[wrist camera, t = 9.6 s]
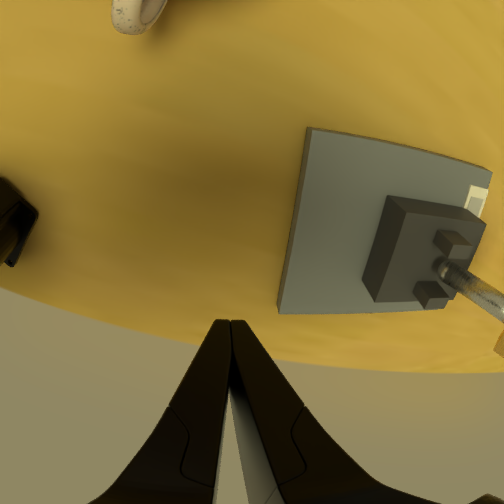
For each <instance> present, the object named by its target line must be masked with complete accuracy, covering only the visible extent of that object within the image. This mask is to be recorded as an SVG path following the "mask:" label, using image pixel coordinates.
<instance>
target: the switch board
mask: <svg viewBox="0 0 504 504" xmlns="http://www.w3.org/2000/svg"><path fill="white" fill-rule="evenodd" d="M492 173H493V172H491V171H489V170H487V169H486V168H484V167H481V166H478V165H475V164H471V163H468V162H465V161H462V160H459V159H455V158H452V157H448V156H445V155H441V154H438V153H434V152H430V151H427V150H423V149H419V148H415V147H411V146H407V145H402V144H398V143H394V142H389V141H385V140H380V139H375V138H370V137H365V136H360V135H355V134H349V133H344V132H338V131H332V130H326V129H319V128H312V127H307V133H306V139H305V146H304V152H303V159H302V165H301V171H300V177H299V183H298V189H297V195H296V201H295V207H294V213H293V219H292V225H291V230H290V236H289V241H288V247H287V252H286V258H285V263H284V269H283V274H282V279H281V285H280V290H279V295H278V300H277V308H278V312H279V314H351V313H382V312H403V311H421V310H436V309H443V308H445V306H446V304H447V302H448V300H453V299H454V297H455V295H456V293H457V291H456V290H454V289H453V288H451V287H450V286H448V285H447V284H445V283H444V282H442V281H441V280H440V279H439V277H438V268H439V266H440V264H441V263H442V262H444V261H453V262H454V263H456V264H458V265H459V266H461V267H462V268H464V269H466V270H468V268H469V266H470V263H471V261H472V259H473V257H474V254H475V252H476V250H477V247H478V245H479V242H480V240H481V237H482V235H483V232H484V230H485V227H486V223H484V222H483V221H482V220H481V219H479V218H480V215H481V212H482V209H483V206H484V203H485V200H486V197H487V194H488V191H489V190H488V187H489V183H490V180H491V177H492Z"/></svg>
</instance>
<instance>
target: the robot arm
mask: <svg viewBox="0 0 504 504" xmlns="http://www.w3.org/2000/svg"><path fill="white" fill-rule="evenodd" d="M31 214H32V215H33V217H32V216H31ZM37 218H38V213H37V211H36V210H35V209H34V208H33V207H32V206H31V205H29V204H28V203H27V202H26V201H25V200H24V199H23V198H21V197H20V196H19V195H18V194H17V193H16V192H15V191H14V190H12V189H11V188H10V187H9V186H8V185H7V184H6V183H5V182H4V181H3V180H2V179H0V265H1V264H2V263H3V262H5V263H6V264H7V265H8V266H10V267H14V265H15V264H16V263H17V260H18V258H19V256H20V254H21V251H22V249H23V247H24V245H25V243H26V241H27V238H28V236H29V234H30V232H31V230H32V228H33V226H34V224H35V222H36V220H37ZM11 261H12V262H11ZM228 394H230V402H231V408H232V414H233V420H234V426H235V431H236V437H237V443H238V448H239V454H240V459H241V464H242V470H243V475H244V480H245V486H246V490H247V495H248V501H249V504H440V503H436V502H433V501H430V500H426V499H423V498H420V497H417V496H414V495H411V494H408V493H405V492H402V491H399V490H396V489H393V488H391V487H388V486H386V485H384V484H382V483H380V482H379V481H377V480H375V479H374V478H372V477H371V476H370V475H369V474H368V473H367V472H366V471H365V470H364V469H363V468H362V467H360V466H359V465H358V464H357V463H356V462H355V461H354V460H353V459H352V458H351V457H350V456H349V455H348V454H347V453H346V452H345V451H344V450H343V449H342V448H341V447H340V446H339V445H338V444H337V443H336V442H335V441H334V440H333V439H332V438H331V436H330V435H329V434H328V433H327V432H326V431H325V430H324V429H323V427H322V426H321V425H320V424H319V423H318V422H317V420H316V419H315V418H314V416H313V415H312V414H311V412H310V411H309V409H308V408H307V407H306V406H304V403H303V402H302V400H301V399H300V398H299V396H298V395H297V393H296V392H295V391H294V389H293V388H292V386H291V385H290V384H289V382H288V381H287V379H286V378H285V377H284V375H283V374H282V372H281V371H280V370H279V368H278V367H277V365H276V364H275V363H274V361H273V360H272V358H271V357H270V356H269V354H268V353H267V351H266V350H265V348H264V347H263V346H262V344H261V343H260V341H259V340H258V338H257V337H256V335H255V334H254V333H253V331H252V330H251V328H250V327H249V325H248V324H247V322H246V321H245V320H231V321H229V320H227V319H216V320H215V321H214V322H213V324H212V326H211V328H210V330H209V331H208V333H207V335H206V337H205V339H204V341H203V342H202V344H201V346H200V348H199V350H198V352H197V353H196V355H195V357H194V359H193V361H192V362H191V364H190V366H189V368H188V370H187V372H186V373H185V375H184V377H183V379H182V381H181V383H180V384H179V386H178V388H177V390H176V392H175V394H174V395H173V397H172V399H171V401H170V403H169V407H167V408H166V410H165V411H164V413H163V415H162V417H161V419H160V420H159V422H158V424H157V425H156V427H155V429H154V430H153V432H152V433H151V435H150V436H149V438H148V439H147V440H146V442H145V443H144V445H143V446H142V447H141V449H140V450H139V451H138V453H137V454H136V455H135V456H134V458H133V459H132V460H131V462H130V463H129V464H128V465H127V467H126V468H125V469H124V471H123V472H122V473H121V474H120V476H119V477H118V478H117V479H116V481H115V482H114V483H113V484H112V485H111V486H110V487H109V488H108V489H107V490H106V491H105V492H104V493H103V494H102V495H100V496H99V497H97V498H96V499H94V500H93V501H91V502H89V503H88V504H216V499H217V490H218V481H219V472H220V463H221V454H222V445H223V438H224V429H225V420H226V412H227V403H228ZM469 504H504V501H503V500H501V499H500V498H498V497H495V496H493V495H490V494H485V495H483V496H481V497H480V498H478V499H476V500H474V501H473V502H471V503H469Z"/></svg>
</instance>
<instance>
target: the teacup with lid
mask: <svg viewBox="0 0 504 504" xmlns="http://www.w3.org/2000/svg"><path fill="white" fill-rule="evenodd" d="M166 3H167V0H113V2H112V11H111V16H112V23H113V25H114V27H115V29H116V30H117V31H119V32H120V33H124V34H130V35H139V34H142V33H144V32H145V31H147V30H148V29H149V28H150V27H151V26H152V25H153V24H154V23H155V22H156V20H157V19H158V17H159V16H160V14H161V12H162V11H163V9H164V7H165V5H166Z"/></svg>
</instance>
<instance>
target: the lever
mask: <svg viewBox="0 0 504 504" xmlns="http://www.w3.org/2000/svg"><path fill="white" fill-rule="evenodd" d="M438 277H439V279H440V280H441V281H442V282H444V283H445V284H447V285H448V286H450V287H451V288H453V289H454V290H456V291H457V292H459V293H460V294H462V295H463V296H465V297H466V298H468V299H469V300H471V301H472V302H474V303H475V304H477V305H478V306H480V307H481V308H483V309H484V310H486V311H487V312H488V313H490V314H491V315H493V316H494V317H496V318H497V319H498V320H500V321H501V322H503V323H504V294H503V293H501V292H500V291H498V290H497V289H495V288H494V287H492V286H491V285H489V284H488V283H486V282H484V281H483V280H481V279H480V278H478V277H477V276H475V275H474V274H472V273H470V272H469V271H467V270H466V269H464V268H462V267H461V266H459V265H458V264H456V263H454V262H453V261H444V262H442V263H441V264H440V266H439V268H438ZM493 350H494V351H495V352H496V353H498V354H499V355H500V356H502V357H503V358H504V330H503V332H502V333H501V335H500V336H499V338H498V341H497V343H496V345H495V347H494V349H493Z"/></svg>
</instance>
